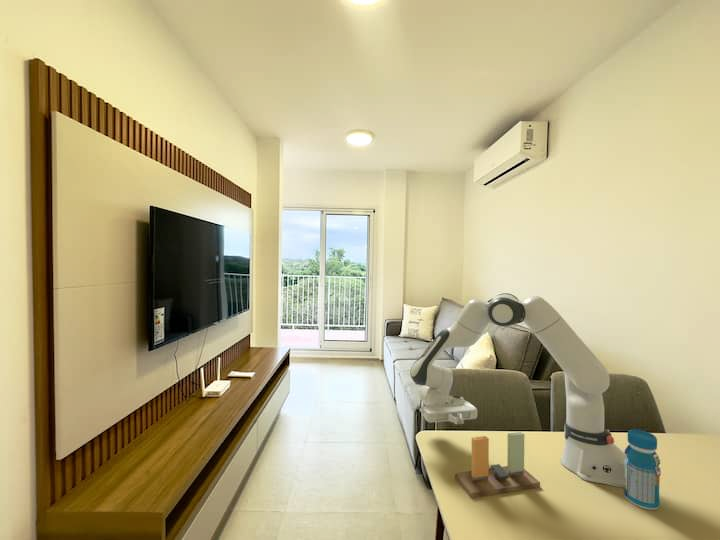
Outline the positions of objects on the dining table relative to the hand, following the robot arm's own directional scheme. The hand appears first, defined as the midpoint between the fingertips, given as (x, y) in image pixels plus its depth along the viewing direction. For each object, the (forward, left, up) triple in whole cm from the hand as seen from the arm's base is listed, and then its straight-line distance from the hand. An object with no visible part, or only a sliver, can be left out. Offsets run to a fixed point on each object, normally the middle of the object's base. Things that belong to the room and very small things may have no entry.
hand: (460, 422), depth 120 cm
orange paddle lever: (-9, +8, -12) cm, 17 cm away
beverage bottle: (-51, -10, -15) cm, 54 cm away
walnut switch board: (-13, +4, -15) cm, 20 cm away
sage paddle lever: (-18, -1, -12) cm, 22 cm away
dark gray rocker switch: (-14, +3, -13) cm, 19 cm away
